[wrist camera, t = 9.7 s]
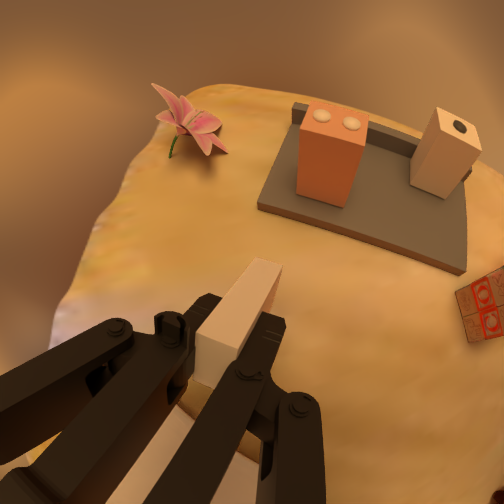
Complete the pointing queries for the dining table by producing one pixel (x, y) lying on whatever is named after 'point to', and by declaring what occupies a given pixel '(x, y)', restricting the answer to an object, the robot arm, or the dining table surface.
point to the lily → (190, 121)
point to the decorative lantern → (499, 497)
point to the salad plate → (160, 454)
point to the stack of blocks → (483, 306)
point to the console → (376, 200)
